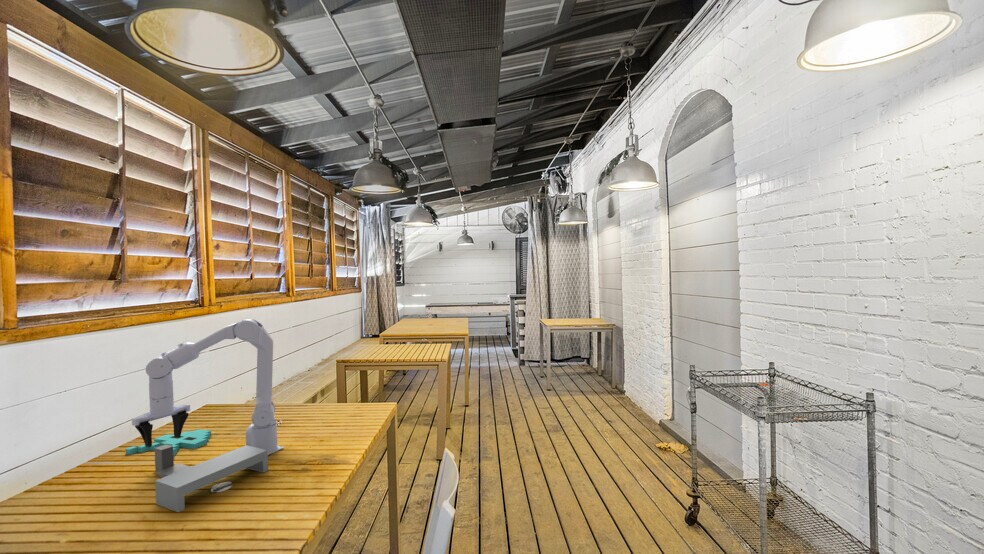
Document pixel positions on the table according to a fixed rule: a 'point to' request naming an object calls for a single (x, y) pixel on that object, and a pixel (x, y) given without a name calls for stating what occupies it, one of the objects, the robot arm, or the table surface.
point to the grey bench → (207, 475)
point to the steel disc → (221, 487)
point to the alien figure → (176, 441)
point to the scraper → (166, 461)
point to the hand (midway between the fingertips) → (163, 441)
